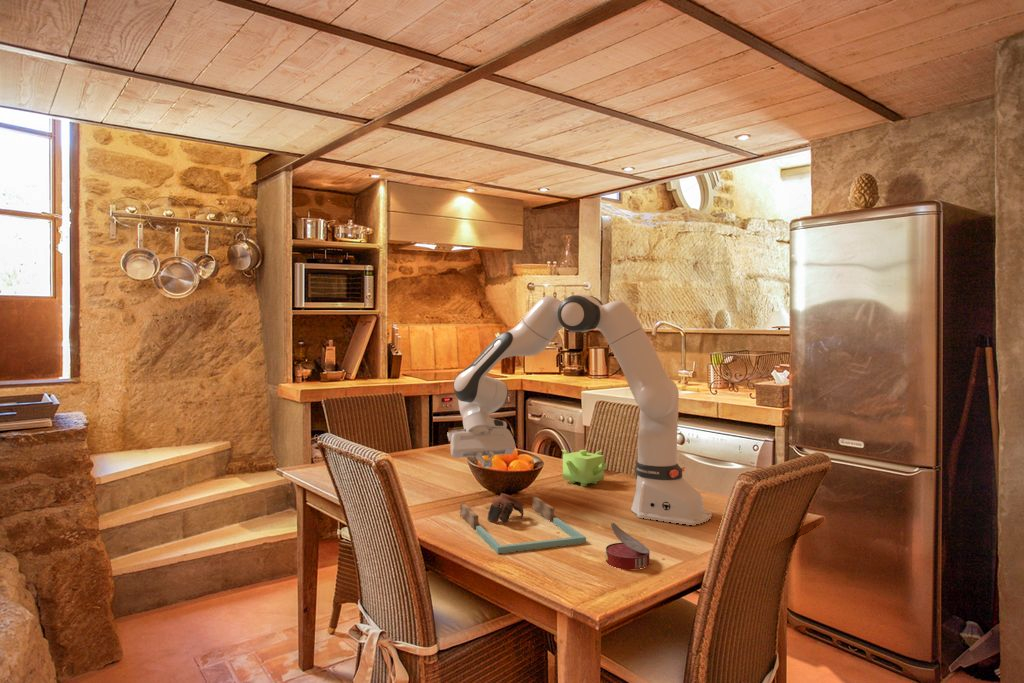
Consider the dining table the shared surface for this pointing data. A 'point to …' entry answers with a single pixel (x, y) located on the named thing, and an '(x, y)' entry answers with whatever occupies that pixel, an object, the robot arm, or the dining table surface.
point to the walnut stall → (536, 505)
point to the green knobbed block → (583, 467)
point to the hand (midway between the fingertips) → (487, 466)
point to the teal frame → (575, 539)
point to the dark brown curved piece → (504, 508)
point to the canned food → (626, 551)
